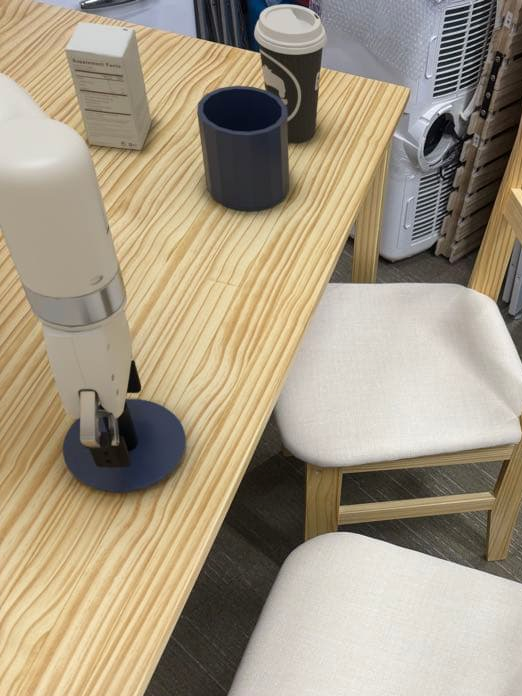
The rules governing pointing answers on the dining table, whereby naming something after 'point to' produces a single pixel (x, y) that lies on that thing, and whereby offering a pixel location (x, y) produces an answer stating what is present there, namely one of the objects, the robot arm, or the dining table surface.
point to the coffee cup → (292, 63)
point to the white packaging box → (109, 85)
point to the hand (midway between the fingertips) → (120, 426)
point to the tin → (244, 147)
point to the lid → (131, 449)
